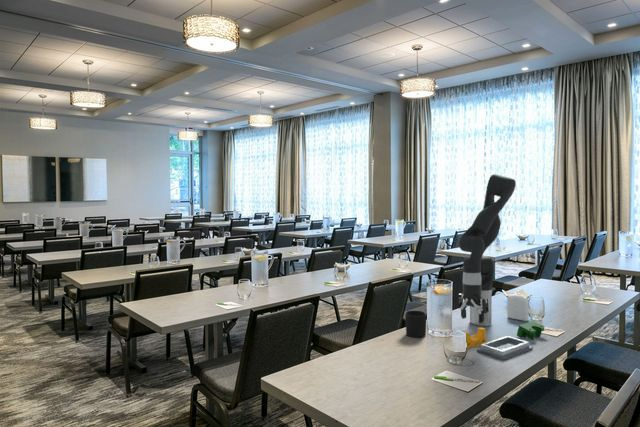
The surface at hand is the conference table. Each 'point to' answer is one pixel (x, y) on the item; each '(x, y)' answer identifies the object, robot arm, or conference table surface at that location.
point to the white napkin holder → (517, 307)
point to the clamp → (530, 330)
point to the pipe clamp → (476, 338)
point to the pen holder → (415, 324)
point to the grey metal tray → (505, 347)
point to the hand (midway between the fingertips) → (472, 320)
